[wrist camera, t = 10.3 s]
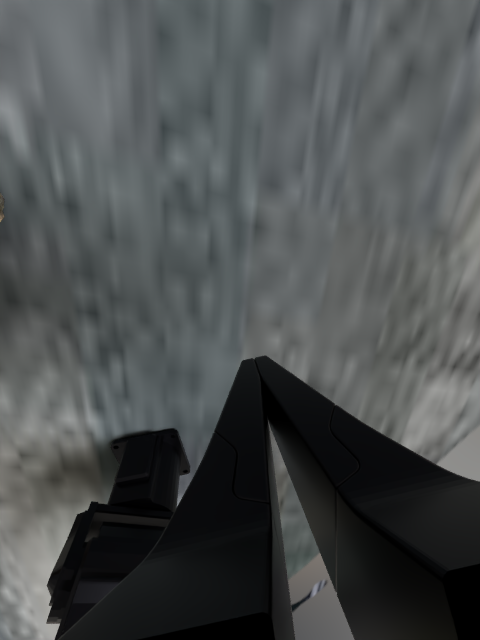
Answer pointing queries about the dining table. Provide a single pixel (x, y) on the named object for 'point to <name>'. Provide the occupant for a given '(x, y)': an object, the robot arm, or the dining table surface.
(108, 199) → the dining table surface
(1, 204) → the rock
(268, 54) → the dining table surface
